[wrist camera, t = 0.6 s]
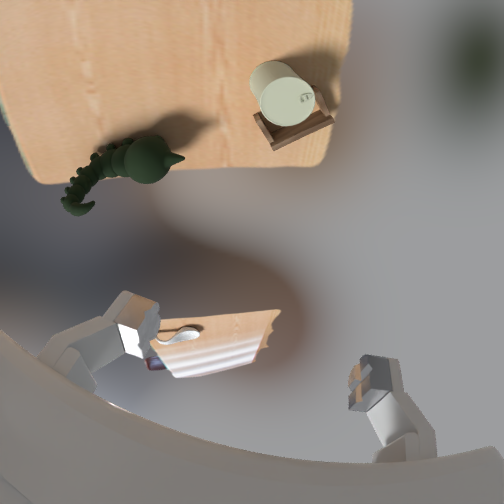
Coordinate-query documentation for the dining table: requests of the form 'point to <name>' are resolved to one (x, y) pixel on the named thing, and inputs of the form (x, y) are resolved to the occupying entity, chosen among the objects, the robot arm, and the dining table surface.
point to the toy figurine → (121, 168)
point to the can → (281, 93)
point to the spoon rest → (181, 335)
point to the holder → (298, 125)
